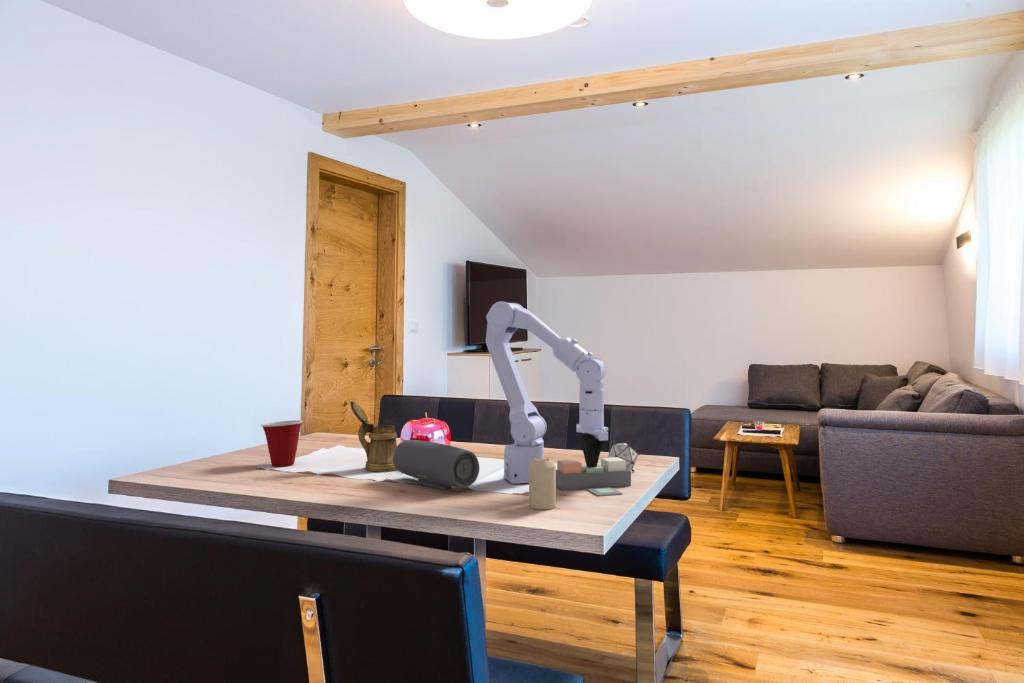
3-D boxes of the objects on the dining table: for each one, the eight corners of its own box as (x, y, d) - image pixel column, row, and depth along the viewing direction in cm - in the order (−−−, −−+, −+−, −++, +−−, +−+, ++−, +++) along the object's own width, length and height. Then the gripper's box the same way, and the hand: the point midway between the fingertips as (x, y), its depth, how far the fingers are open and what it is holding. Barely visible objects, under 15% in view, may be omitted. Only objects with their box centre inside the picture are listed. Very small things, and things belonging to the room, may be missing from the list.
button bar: (561, 490, 153) (561, 475, 153) (552, 484, 159) (552, 469, 159) (630, 485, 158) (630, 470, 158) (619, 480, 164) (619, 465, 164)
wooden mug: (356, 464, 184) (355, 399, 183) (404, 465, 182) (404, 399, 182) (344, 471, 175) (344, 402, 175) (395, 472, 173) (395, 402, 173)
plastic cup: (281, 460, 190) (280, 417, 190) (311, 462, 186) (311, 419, 186) (252, 466, 180) (252, 422, 180) (283, 470, 176) (283, 424, 176)
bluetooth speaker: (481, 489, 154) (481, 446, 154) (450, 496, 147) (450, 451, 147) (421, 475, 170) (421, 435, 170) (391, 480, 164) (390, 439, 163)
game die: (629, 487, 172) (645, 460, 167) (598, 475, 172) (612, 448, 167) (631, 465, 180) (646, 438, 174) (601, 453, 180) (615, 426, 174)
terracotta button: (563, 477, 154) (563, 464, 154) (557, 473, 158) (557, 460, 158) (581, 475, 155) (581, 463, 155) (574, 472, 160) (574, 459, 160)
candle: (554, 503, 142) (554, 455, 142) (557, 509, 136) (557, 460, 136) (528, 503, 141) (528, 456, 141) (529, 510, 136) (529, 460, 136)
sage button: (586, 481, 156) (586, 468, 156) (579, 477, 160) (579, 465, 160) (603, 480, 157) (603, 467, 157) (596, 476, 161) (596, 464, 161)
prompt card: (597, 496, 148) (597, 494, 148) (587, 490, 153) (587, 488, 153) (622, 494, 149) (622, 492, 149) (611, 488, 155) (611, 486, 155)
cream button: (608, 474, 157) (608, 461, 157) (600, 470, 162) (601, 458, 162) (625, 473, 159) (625, 460, 159) (617, 469, 163) (617, 457, 163)
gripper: (620, 412, 152) (620, 471, 153) (595, 405, 166) (595, 460, 167) (591, 413, 151) (591, 473, 151) (568, 406, 164) (568, 461, 165)
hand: (591, 466), depth 158 cm, fingers closed, pressing on sage button
